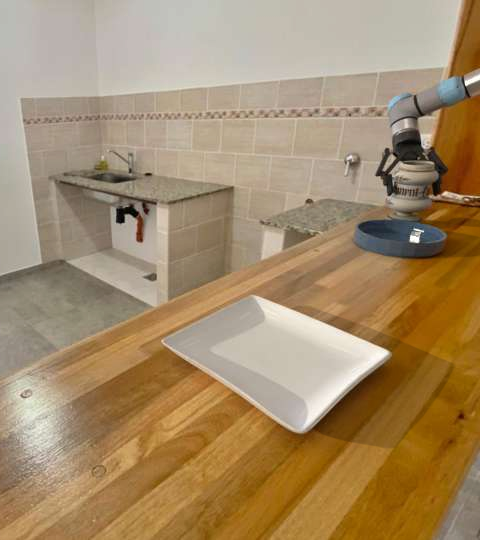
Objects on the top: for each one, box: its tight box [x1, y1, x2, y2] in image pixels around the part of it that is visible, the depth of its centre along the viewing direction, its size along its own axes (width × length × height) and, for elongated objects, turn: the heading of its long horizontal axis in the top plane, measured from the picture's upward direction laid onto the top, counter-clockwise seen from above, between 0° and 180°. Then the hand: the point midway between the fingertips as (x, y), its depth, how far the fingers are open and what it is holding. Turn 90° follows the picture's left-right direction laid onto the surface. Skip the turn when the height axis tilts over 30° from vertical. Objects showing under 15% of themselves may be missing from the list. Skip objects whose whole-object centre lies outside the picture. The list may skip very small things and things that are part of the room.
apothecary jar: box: [384, 161, 439, 223], centre depth 120 cm, size 12×12×18 cm
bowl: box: [352, 218, 448, 259], centre depth 110 cm, size 21×21×4 cm
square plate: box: [161, 294, 393, 435], centre depth 66 cm, size 27×27×4 cm
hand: (413, 193), depth 118 cm, fingers closed on apothecary jar, 12 cm apart
